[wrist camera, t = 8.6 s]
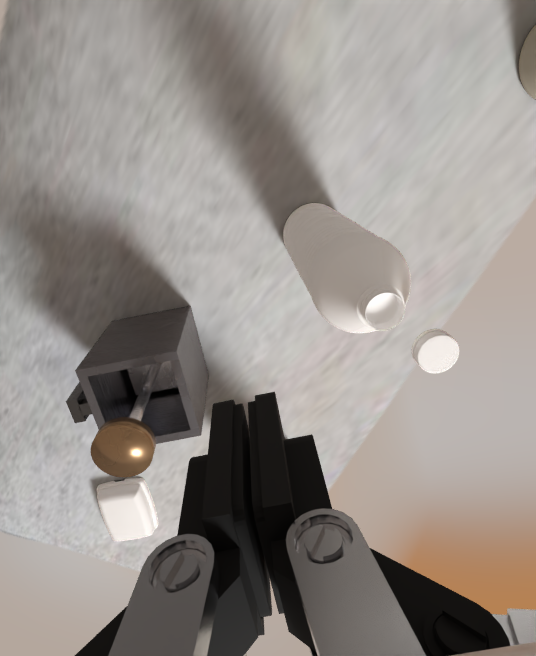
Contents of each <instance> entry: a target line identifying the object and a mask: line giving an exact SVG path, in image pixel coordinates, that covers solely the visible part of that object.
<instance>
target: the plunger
mask: <svg viewBox="0 0 536 656" xmlns="http://www.w3.org/2000/svg"><path fill="white" fill-rule="evenodd" d="M127 371H128V374H129V377H130V379H131V382H132V385H133V388H134V391H135V394H136V395H138V398H137V400H136V402H135V405H134V407H133V410H132V412H131V415H130V417H118V418H114V419H111V420H109V421H107V422H106V423H104V424H103V425H102V426H101V427H100V429H99V431H98V433H97V435H96V437H95V439H94V441H93V442H92V445H91V456H92V459H93V461H94V463H95V464H96V465H97V466H98V468H100V469H101V470H102V471H104V472H105V473H107V474H110V475H112V476H116V477H132V476H135V475H138V474H140V473H142V472H143V471H145V470H146V469H147V468H148V466H149V465H150V463H151V461H152V458H153V454H154V451H155V447H156V439H155V436H154V433H153V432H152V430H151V429H150V428H149V427H148V426H147V425H146V424H145V423H143V422H141V419H142V416H143V413H144V411H145V408H146V405H147V402H148V400H149V397H150V394H151V392H155V391H160V390H165V389H171V388H176V387H178V386H177V382H176V379H175V376H174V372H173V369H172V366H171V362H170V361H166V362H161V363H156V364H150V365H145V366H140V367H135V368H130V369H127Z"/></svg>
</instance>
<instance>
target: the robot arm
mask: <svg viewBox="0 0 536 656" xmlns="http://www.w3.org/2000/svg"><path fill="white" fill-rule="evenodd" d="M248 414H249V428H248V424H247V420H246V416H245V411H244V407H243V404H237V405H235V402H234V400H229V401H224V402H219V403H214V404H213V409H212V419H211V429H210V439H209V449H208V455H203V456H198V457H192V458H191V459H190V461H189V466H188V472H187V478H186V485H185V491H184V497H183V504H182V510H181V516H180V522H179V529H178V535H177V536H175V537H173V538H171V539H169V540H166V541H165V542H163V543H162V544H161V545H159V546H158V547H157V548H156V549H155V550H154V551H153V552H152V553H151V554H150V555H149V556H148V558H147V560H146V562H145V563H144V565H143V567H142V570H141V572H140V575H139V577H138V580H137V583H136V586H135V588H134V590H133V593H132V596H131V598H130V601H129V604H128V606H127V607H126V608H125V609H124V610H123V611H122V612H120V613H119V614H118V615H117V616H116V617H115V618H114V619H113V620H112V621H111V622H110V623H109V624H108V625H107V626H106V627H105V628H104V629H103V630H101V632H99V633H98V634H97V635H96V636H95V637H94V638H93V639H92V640H91V641H90V642H89V643H88V644H87V645H86V646H85V647H83V649H81V650H80V651H79V652H78V653H77V654H76V655H75V656H247V655H246V652H247V651H248V650H249V648H250V647H251V646H252V644H253V643H254V642H255V640H256V639H257V638H258V636H259V635H264V618H263V617H266V616H271V615H272V606H271V593H270V581H271V585H272V588H273V592H274V596H275V600H276V604H277V608H278V611H279V614H281V613H284V614H285V618H286V622H287V626H288V630H289V632H290V633H291V634H293V635H294V636H296V637H297V638H298V639H299V640H301V641H302V642H303V643H305V644H306V645H307V646H308V647H309V648H310V653H311V656H536V610H525V609H508V611H507V612H508V613H507V615H497V614H491V613H490V612H488V611H487V610H485V609H484V608H482V607H481V606H480V605H478V604H477V603H475V602H473V601H471V600H469V599H467V598H465V597H463V596H461V595H459V594H458V593H456V592H454V591H452V590H450V589H448V588H446V587H444V586H442V585H440V584H438V583H436V582H434V581H432V580H431V579H429V578H427V577H425V576H423V575H421V574H419V573H417V572H415V571H413V570H411V569H409V568H407V567H405V566H403V565H402V564H400V563H398V562H396V561H394V560H392V559H390V558H388V557H386V556H384V555H382V554H380V553H378V552H376V551H375V550H373V549H371V548H369V546H368V544H367V542H366V541H365V539H364V537H363V535H362V533H361V531H360V529H359V527H358V526H357V524H356V523H355V522H354V521H353V519H352V518H351V517H349V516H348V515H346V514H345V513H343V512H341V511H338V510H334V509H332V507H331V503H330V499H329V495H328V491H327V488H326V484H325V480H324V476H323V473H322V469H321V465H320V461H319V457H318V454H317V450H316V446H315V442H314V439H313V435H307V436H302V437H297V438H292V439H286V440H285V439H284V434H283V429H282V424H281V419H280V415H279V410H278V405H277V400H276V395H275V392H271V393H266V394H261V395H255V401H253V402H248ZM269 577H270V578H269Z"/></svg>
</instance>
